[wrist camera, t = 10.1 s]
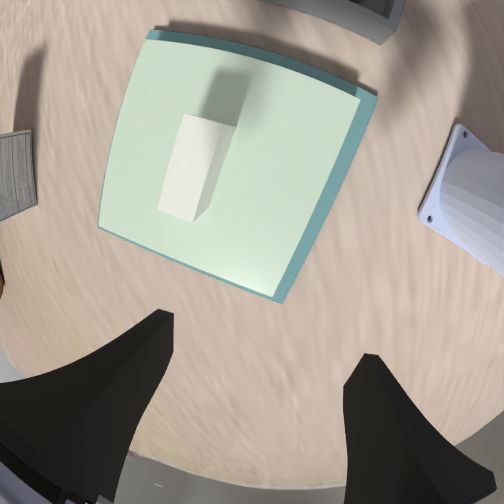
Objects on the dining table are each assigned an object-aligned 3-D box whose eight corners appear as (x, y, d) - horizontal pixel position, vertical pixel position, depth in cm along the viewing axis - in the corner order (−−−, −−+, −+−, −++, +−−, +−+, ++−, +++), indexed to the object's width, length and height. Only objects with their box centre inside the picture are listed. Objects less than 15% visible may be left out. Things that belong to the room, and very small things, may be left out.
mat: (376, 98, 14) (378, 97, 13) (282, 300, 21) (282, 304, 20) (153, 31, 13) (150, 29, 13) (100, 225, 20) (97, 227, 20)
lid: (353, 103, 14) (377, 91, 9) (273, 283, 19) (268, 325, 15) (157, 46, 13) (120, 26, 9) (111, 218, 19) (72, 241, 15)
